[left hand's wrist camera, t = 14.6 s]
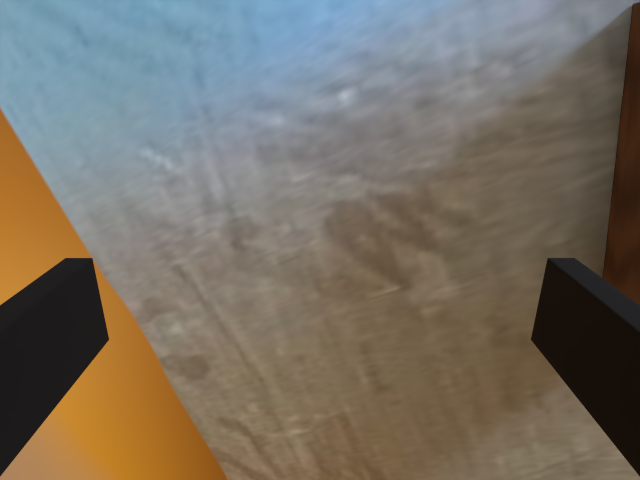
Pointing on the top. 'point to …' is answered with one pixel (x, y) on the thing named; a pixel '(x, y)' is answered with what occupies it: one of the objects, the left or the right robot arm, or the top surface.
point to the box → (627, 181)
